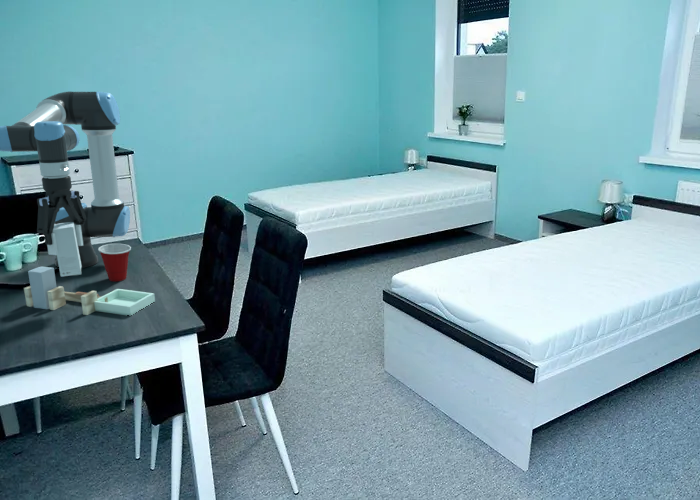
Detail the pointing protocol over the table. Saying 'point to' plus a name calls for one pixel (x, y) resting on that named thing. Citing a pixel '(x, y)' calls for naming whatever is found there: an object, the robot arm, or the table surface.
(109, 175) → the robot arm
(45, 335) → the table surface
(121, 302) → the tray
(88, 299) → the beige elongated piece
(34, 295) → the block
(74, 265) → the skincare box
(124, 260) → the plastic cup
